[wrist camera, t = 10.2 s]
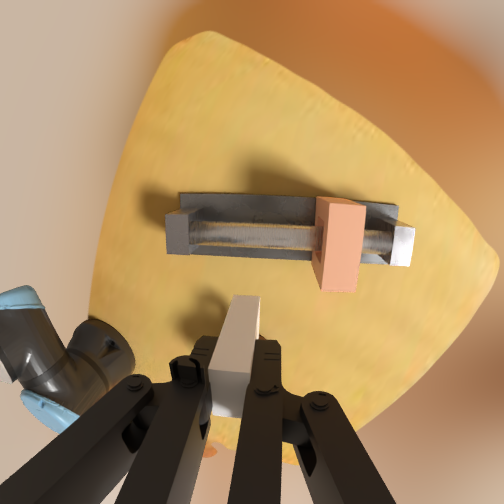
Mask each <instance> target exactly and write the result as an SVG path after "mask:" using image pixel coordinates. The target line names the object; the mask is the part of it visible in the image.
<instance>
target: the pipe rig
mask: <svg viewBox="0 0 504 504" xmlns="http://www.w3.org/2000/svg"><path fill="white" fill-rule="evenodd" d="M353 202H356V203H359V204H362V205H365V206H366V217H365V227H364V236H363V244H362V252H361V259H360V263H370V264H389V265H393V266H410V260H411V255H412V249H413V242H414V235H415V228H414V227H412V226H410V225H408V224H405V223H403V222H400V221H398V220H397V218H398V208H399V206H397V205H389V204H380V203H370V202H361V201H353ZM315 212H316V198H312V197H296V196H277V195H253V194H180V209H178V210H175V211H173V212H170V213H167V214H165V226H166V248H167V254H177V255H190V254H195V255H213V256H231V257H249V258H268V259H288V260H308V261H312V251H322V244H323V233H324V226H315Z"/></svg>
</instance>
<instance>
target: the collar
mask: <svg viewBox="0 0 504 504" xmlns="http://www.w3.org/2000/svg"><path fill="white" fill-rule="evenodd" d="M365 217H366V206H365V205H362V204H359V203H356V202H353V201H351V200H348V199H345V198H334V197H321V196H316V212H315V226H324V233H323V244H322V251H312V262H311V264H312V267H313V270H314V273H315V275H316V278H317V281H318V284H319V287H320V289H321V291H329V292H355V291H356V285H357V279H358V273H359V266H360V259H361V252H362V244H363V236H364V227H365Z"/></svg>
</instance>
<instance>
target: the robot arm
mask: <svg viewBox="0 0 504 504" xmlns="http://www.w3.org/2000/svg"><path fill="white" fill-rule="evenodd" d="M259 315H260V296H245V295H233V298H232V301H231V304H230V307H229V310H228V313H227V315H226V318H225V321H224V324H223V327H222V330H221V333H220V336H219V337H211V336H202V337H201V338H200V339H199V340H197V341H196V343H195V346H194V349H193V350H192V352H191V354H190V356H188V355H184V356H179V357H176V358H175V359H173V360H172V361H171V362H170V363H169V366H170V371H171V376H172V381H170V382H166V383H152V382H151V381H150V379H149V378H148V377H146V376H145V375H141V374H133V375H131V374H132V373H133V371H134V369H135V358H134V354H133V352H132V350H131V348H130V346H129V344H128V343H127V342H126V340H125V339H124V338H123V337H122V336H121V334H120V333H119V332H117V331H116V330H115V329H114V328H113V327H111V326H110V325H108V324H106V323H104V322H102V321H99V320H95V319H89V320H86V321H84V322H83V323H81V324H80V325H79V326H78V327H77V328H76V329H75V331H74V333H73V337H72V339H71V340H70V342H69V344H68V346H67V348H65V347H64V345H63V343H62V341H61V340H60V338H59V336H58V334H57V333H56V331H55V329H54V327H53V325H52V323H51V321H50V319H49V317H48V315H47V313H46V311H45V307H44V306H43V305H42V303H41V301H40V299H39V297H38V295H37V293H36V291H35V290H34V289H33V288H32V287H31V286H28V285H25V286H21V287H18V288H15V289H12V290H9V291H6V292H3V293H1V294H0V381H2V382H5V383H9V384H11V383H13V382H14V381H15V380H17V379H18V380H19V382H20V383H21V385H22V386H23V388H24V390H22V391H21V396H20V397H21V400H22V401H23V404H24V405H25V406H26V408H27V409H28V410H29V411H30V412H31V413H32V414H33V415H34V416H35V417H36V418H37V419H38V420H40V421H41V422H42V423H43V424H44V425H46V426H47V427H49V428H50V429H52V430H53V431H55V432H57V433H59V434H60V435H58V436H57V437H56V438H55V439H54V440H52V441H51V442H50V443H49V444H48V445H47V446H46V447H44V448H43V449H42V450H41V451H40V452H38V453H37V454H36V455H35V456H34V457H33V458H31V459H30V460H29V461H28V462H27V463H26V464H24V465H23V466H22V467H21V468H20V469H19V470H17V471H16V472H15V473H14V474H13V475H11V476H10V477H9V478H8V479H7V480H6V481H4V482H3V483H2V484H1V485H0V504H100V503H101V502H102V501H103V499H104V498H105V497H106V496H107V495H108V494H109V493H110V492H111V491H112V490H113V488H114V487H115V486H116V485H117V484H118V483H119V482H120V480H121V479H122V478H123V477H124V476H125V475H126V474H127V472H128V471H129V472H128V474H127V476H126V479H125V481H124V483H123V485H122V488H121V490H120V492H119V494H118V496H117V499H116V501H115V503H114V504H190V501H191V497H192V494H193V490H194V486H195V482H196V479H197V475H198V471H199V467H200V463H201V460H202V456H203V452H204V448H205V444H206V441H207V437H208V433H209V429H210V425H211V420H210V415H211V411H213V415H216V416H224V417H234V418H242V419H241V426H240V432H239V438H238V444H237V450H236V456H235V462H234V468H233V474H232V480H231V485H230V491H229V497H228V503H227V504H280V500H281V499H280V498H281V471H282V441H283V442H287V443H290V444H293V447H294V450H295V453H296V456H297V459H298V461H299V464H300V467H301V470H302V473H303V475H304V478H305V481H306V484H307V486H308V489H309V492H310V495H311V497H312V500H313V503H314V504H396V502H395V501H394V499H393V497H392V495H391V494H390V492H389V490H388V488H387V487H386V485H385V483H384V481H383V480H382V478H381V476H380V474H379V473H378V471H377V469H376V467H375V466H374V464H373V462H372V460H371V459H370V457H369V455H368V453H367V452H366V450H365V448H364V447H363V445H362V443H361V441H360V440H359V438H358V436H357V434H356V432H355V431H354V429H353V427H352V425H351V424H350V422H349V420H348V418H347V417H346V415H345V413H344V411H343V410H342V408H341V406H340V404H339V403H338V401H337V399H336V398H335V397H334V396H333V395H331V394H329V393H327V392H323V391H314V392H311V393H308V394H307V395H305V396H304V397H301V396H297V395H294V394H291V393H289V392H288V391H286V390H285V389H284V387H283V386H282V382H281V346H280V344H279V343H278V342H277V340H261V339H258V338H259ZM109 390H110V391H109Z"/></svg>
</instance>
